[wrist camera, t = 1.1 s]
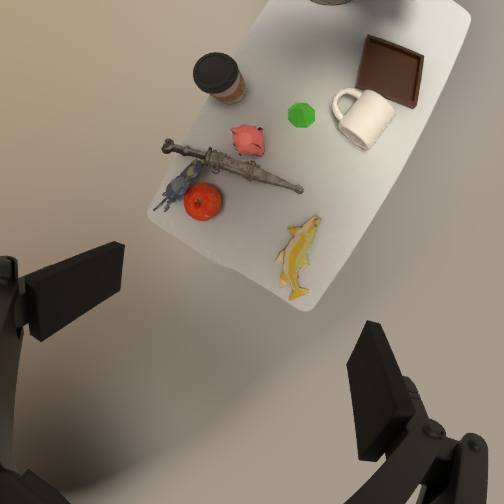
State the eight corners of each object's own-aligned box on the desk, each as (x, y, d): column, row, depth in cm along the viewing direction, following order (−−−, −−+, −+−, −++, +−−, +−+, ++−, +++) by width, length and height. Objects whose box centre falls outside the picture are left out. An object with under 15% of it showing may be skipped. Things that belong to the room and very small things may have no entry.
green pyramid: (309, 98, 58) (309, 90, 52) (320, 123, 59) (321, 117, 53) (283, 107, 59) (280, 100, 54) (293, 132, 60) (292, 127, 55)
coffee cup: (248, 109, 61) (232, 91, 46) (211, 107, 62) (186, 90, 48) (253, 75, 59) (238, 49, 44) (217, 74, 60) (194, 50, 46)
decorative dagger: (299, 183, 66) (167, 137, 57) (304, 176, 64) (170, 128, 56) (300, 207, 62) (156, 159, 53) (306, 200, 60) (159, 150, 52)
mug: (390, 118, 56) (401, 111, 48) (365, 152, 59) (372, 148, 51) (346, 84, 56) (351, 72, 48) (320, 116, 59) (321, 108, 51)
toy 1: (196, 166, 69) (157, 216, 66) (184, 155, 67) (144, 206, 64) (224, 158, 57) (177, 219, 54) (211, 145, 55) (161, 206, 52)
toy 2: (262, 287, 69) (301, 301, 70) (262, 293, 66) (303, 307, 67) (296, 206, 64) (337, 223, 65) (298, 208, 60) (341, 226, 61)
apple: (232, 206, 66) (222, 210, 59) (202, 224, 68) (189, 230, 61) (214, 175, 65) (202, 175, 58) (185, 194, 67) (170, 196, 60)
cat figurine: (233, 149, 63) (217, 143, 52) (249, 123, 61) (237, 111, 50) (261, 166, 63) (251, 163, 52) (277, 139, 61) (271, 130, 50)
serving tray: (365, 39, 52) (367, 34, 49) (420, 59, 50) (424, 55, 48) (355, 87, 56) (357, 84, 53) (412, 108, 54) (416, 106, 51)
